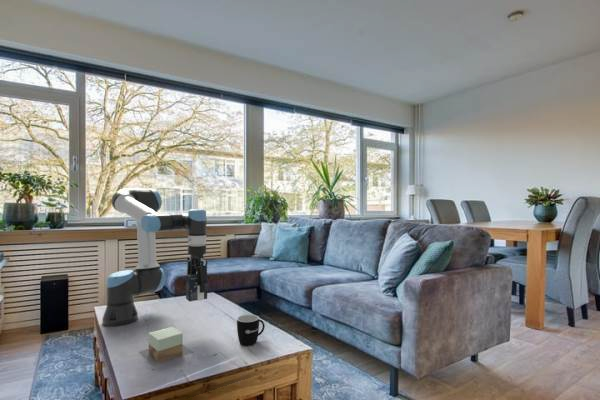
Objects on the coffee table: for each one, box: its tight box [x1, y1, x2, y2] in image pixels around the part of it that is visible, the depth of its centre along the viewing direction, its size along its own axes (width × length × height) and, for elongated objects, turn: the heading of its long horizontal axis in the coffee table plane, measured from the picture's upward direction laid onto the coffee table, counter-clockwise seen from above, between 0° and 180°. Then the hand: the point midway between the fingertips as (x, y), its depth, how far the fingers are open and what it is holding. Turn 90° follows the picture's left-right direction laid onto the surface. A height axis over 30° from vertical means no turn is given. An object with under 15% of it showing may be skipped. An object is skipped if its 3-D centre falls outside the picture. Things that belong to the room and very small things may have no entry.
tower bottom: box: [148, 343, 184, 363], centre depth 125 cm, size 9×9×4 cm
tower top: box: [148, 326, 184, 351], centre depth 125 cm, size 9×9×4 cm
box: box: [185, 273, 209, 302], centre depth 145 cm, size 8×6×11 cm
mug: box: [236, 314, 266, 347], centre depth 137 cm, size 12×9×10 cm
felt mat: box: [138, 344, 194, 366], centre depth 127 cm, size 15×15×1 cm
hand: (196, 298), depth 145 cm, fingers closed on box, 6 cm apart
